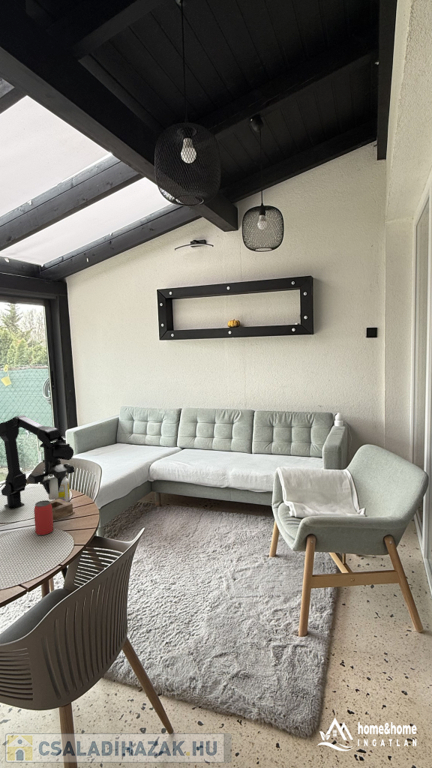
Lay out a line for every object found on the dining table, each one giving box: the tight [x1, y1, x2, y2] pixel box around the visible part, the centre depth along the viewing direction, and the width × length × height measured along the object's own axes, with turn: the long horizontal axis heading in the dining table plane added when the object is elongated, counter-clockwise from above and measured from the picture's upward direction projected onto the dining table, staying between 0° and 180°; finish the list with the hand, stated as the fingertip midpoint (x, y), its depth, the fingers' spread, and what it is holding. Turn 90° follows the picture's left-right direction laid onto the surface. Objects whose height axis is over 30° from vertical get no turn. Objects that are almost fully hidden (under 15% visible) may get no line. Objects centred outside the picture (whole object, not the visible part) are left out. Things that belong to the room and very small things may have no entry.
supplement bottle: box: [57, 476, 71, 502], centre depth 196 cm, size 7×7×13 cm
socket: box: [49, 498, 75, 522], centre depth 181 cm, size 12×12×4 cm
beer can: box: [33, 499, 54, 536], centre depth 163 cm, size 7×7×12 cm
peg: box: [47, 476, 58, 501], centre depth 180 cm, size 4×4×9 cm
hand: (53, 492), depth 180 cm, fingers closed on peg, 4 cm apart
